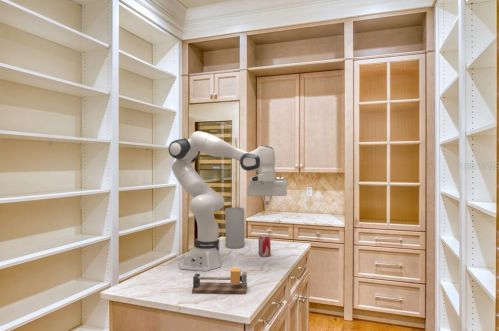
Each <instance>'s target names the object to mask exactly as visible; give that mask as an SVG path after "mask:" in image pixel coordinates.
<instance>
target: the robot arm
mask: <svg viewBox="0 0 499 331" xmlns="http://www.w3.org/2000/svg"><path fill="white" fill-rule="evenodd" d="M168 153H169V155H170V156H171V157H172V158H174V159H176V160H175V161H174V162H173V163H172V165H171V171H172V173H173V175H174V176H175V178H176V180H177V182H178V183H179V184H180V185H181V187H182V188H183V190H185V192H186V193H187V194H188V195H189V196H192V197H193V198H192V199H191V200H190V201H189V211H190V212H191V213H192V214H193V215H194V217H195V221H196V225H197V238H195V239H194V242H193V245H194V246H193V247H192V248H191V249H190V250H189V251H187V252H186V253H185V255H184V258H183V261H181V262H180V264H179V266H178V269H180V270H188V271H199V272H208V271H211V270H214V269H218V268H221V267H222V265H223V264H222V260H221V257H220V239H219V224H218V222H217V221H216V219H215V215H214V214H215V213H217V212H219V211H221V209H222V208H223V207H224V206H225V198H224V196H223V195H222V194H221V193H218V192H217V191H216V190H214V188H212V187H211V186H210V185H208V183H206V182H205V181H204V179H203V178H202V177H201V176H200V175H199V173H198V171H196V169H195V168H194V167H193V165H192V164H194V163H195V162H196V161H197V159H198V158H199V156H200V154H201V153H203V154H204V155H208V156H210V157H213V158H214V157H215V158H229V159H233V160H236V161H239V165H240V167H241V169H242V170H244V171H247V172H257V174H254V175H252V176H249V182H248V184H247V189H246V191H247V192H246V195H247V196H249V197H261V198H262V201H263V204H264V206H266V205H267V206H270V205H271V201H272V199H273V197H283V196H284V197H286V196H287V194H288V190H287V186H288V179H287V178H285V177H276V174H277V173H276V169H275V168H276V167H275V166H276V152H275V149H274V148H273V147H272V146H267V145H260V146H258V147H257V148H256V149H253V150H252V151H246V150H243V149H240V148H238V147H236V146H234V145H232V144H231V143H229V142H227V141H225V140H223V139H221V138H220V137H217V136H216V135H214V134H211V133H210V132H209V133H208V132H206V131H199V130H198V131H194V132H193V133H192V134H191V135H190V138H188V139H187V138H181V139H180V138H179V139H174V140H173V141H171V142H170V143H169V145H168ZM265 197H269V199H268V200H265Z"/></svg>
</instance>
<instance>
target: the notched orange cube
mask: <svg viewBox="0 0 499 331" xmlns="http://www.w3.org/2000/svg"><path fill="white" fill-rule="evenodd" d="M241 270H242V269H241V268H240V267H231V270H230V277H231V280H230V283H241V282H240V276H242V272H241Z"/></svg>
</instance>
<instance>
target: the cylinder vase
mask: <svg viewBox="0 0 499 331" xmlns="http://www.w3.org/2000/svg"><path fill="white" fill-rule="evenodd" d="M224 212H225V213H224V215H225V219H224V220H225V221H224V222H225V223H224V224H225V226H224V228H225V230H224V231H225V247H226V248H228V249H242V248H244V247H245V208H244V207H238V206H237V207H226V208H225V211H224Z"/></svg>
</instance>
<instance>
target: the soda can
mask: <svg viewBox="0 0 499 331" xmlns="http://www.w3.org/2000/svg"><path fill="white" fill-rule="evenodd" d="M258 255H259V256H260V257H263V258H267V257H269V256H270V255H271V237H270V235H269V234H260V235H259V237H258Z"/></svg>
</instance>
